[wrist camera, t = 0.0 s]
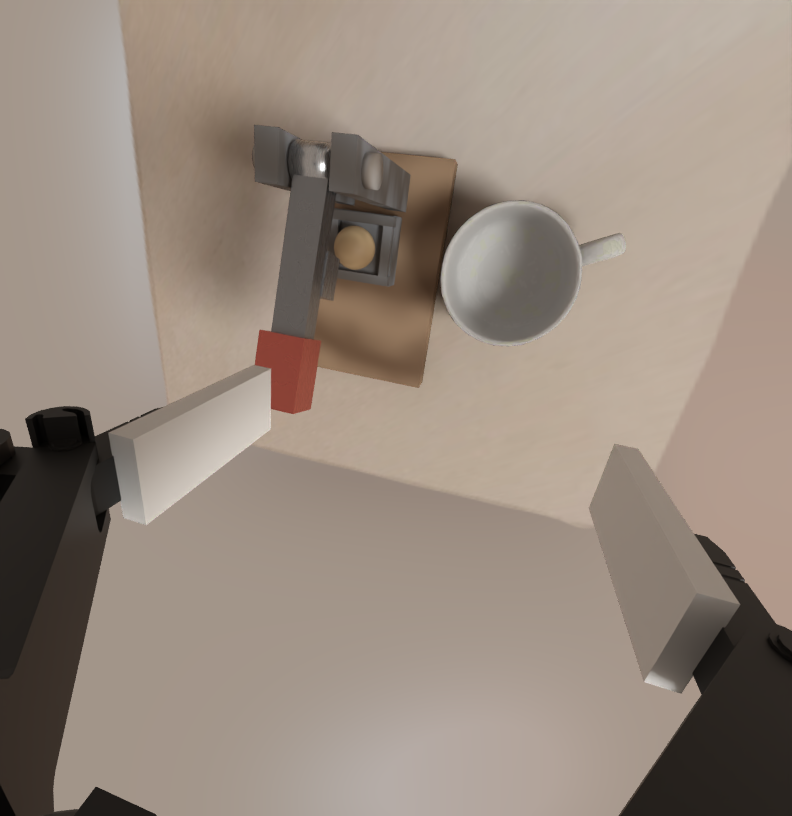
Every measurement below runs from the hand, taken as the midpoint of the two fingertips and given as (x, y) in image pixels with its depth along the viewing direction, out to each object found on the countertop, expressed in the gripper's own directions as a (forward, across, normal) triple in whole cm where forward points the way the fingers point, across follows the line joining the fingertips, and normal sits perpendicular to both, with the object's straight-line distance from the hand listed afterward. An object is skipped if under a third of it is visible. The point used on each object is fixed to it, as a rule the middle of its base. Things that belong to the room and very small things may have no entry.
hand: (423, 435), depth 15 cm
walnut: (+22, -11, +5) cm, 25 cm away
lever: (+15, -11, +2) cm, 19 cm away
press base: (+28, -11, +3) cm, 30 cm away
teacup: (+28, +4, +5) cm, 29 cm away
